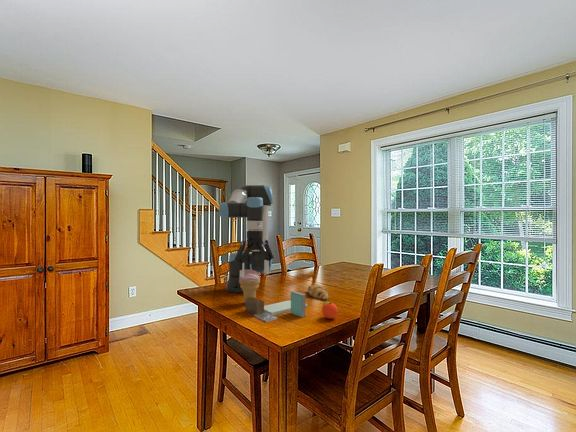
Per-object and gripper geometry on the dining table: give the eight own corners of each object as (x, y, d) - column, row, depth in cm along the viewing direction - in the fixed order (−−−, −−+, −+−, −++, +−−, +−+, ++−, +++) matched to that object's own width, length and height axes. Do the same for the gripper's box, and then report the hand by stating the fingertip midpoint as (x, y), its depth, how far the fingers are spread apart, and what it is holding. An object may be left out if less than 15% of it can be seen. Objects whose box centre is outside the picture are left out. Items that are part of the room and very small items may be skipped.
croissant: (331, 306, 165) (337, 293, 166) (317, 299, 161) (323, 285, 162) (312, 296, 184) (318, 284, 186) (299, 289, 181) (305, 277, 182)
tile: (290, 313, 143) (290, 291, 143) (293, 312, 144) (294, 291, 144) (301, 317, 136) (301, 295, 136) (305, 316, 138) (305, 294, 138)
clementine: (317, 316, 137) (317, 301, 137) (328, 314, 141) (328, 298, 141) (329, 322, 131) (329, 305, 131) (341, 318, 135) (341, 302, 135)
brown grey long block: (243, 311, 145) (243, 298, 145) (254, 308, 149) (254, 296, 149) (266, 322, 130) (266, 308, 130) (277, 319, 134) (277, 305, 134)
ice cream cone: (236, 301, 161) (237, 263, 161) (256, 299, 165) (257, 262, 165) (241, 307, 151) (241, 267, 151) (262, 305, 155) (263, 265, 155)
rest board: (258, 309, 148) (258, 307, 148) (293, 301, 161) (293, 299, 161) (272, 315, 139) (272, 312, 139) (307, 306, 153) (307, 304, 153)
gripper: (235, 230, 132) (234, 279, 132) (280, 229, 148) (280, 273, 148) (227, 230, 138) (226, 277, 138) (271, 229, 154) (271, 271, 154)
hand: (254, 275), depth 143 cm, fingers open, 13 cm apart
